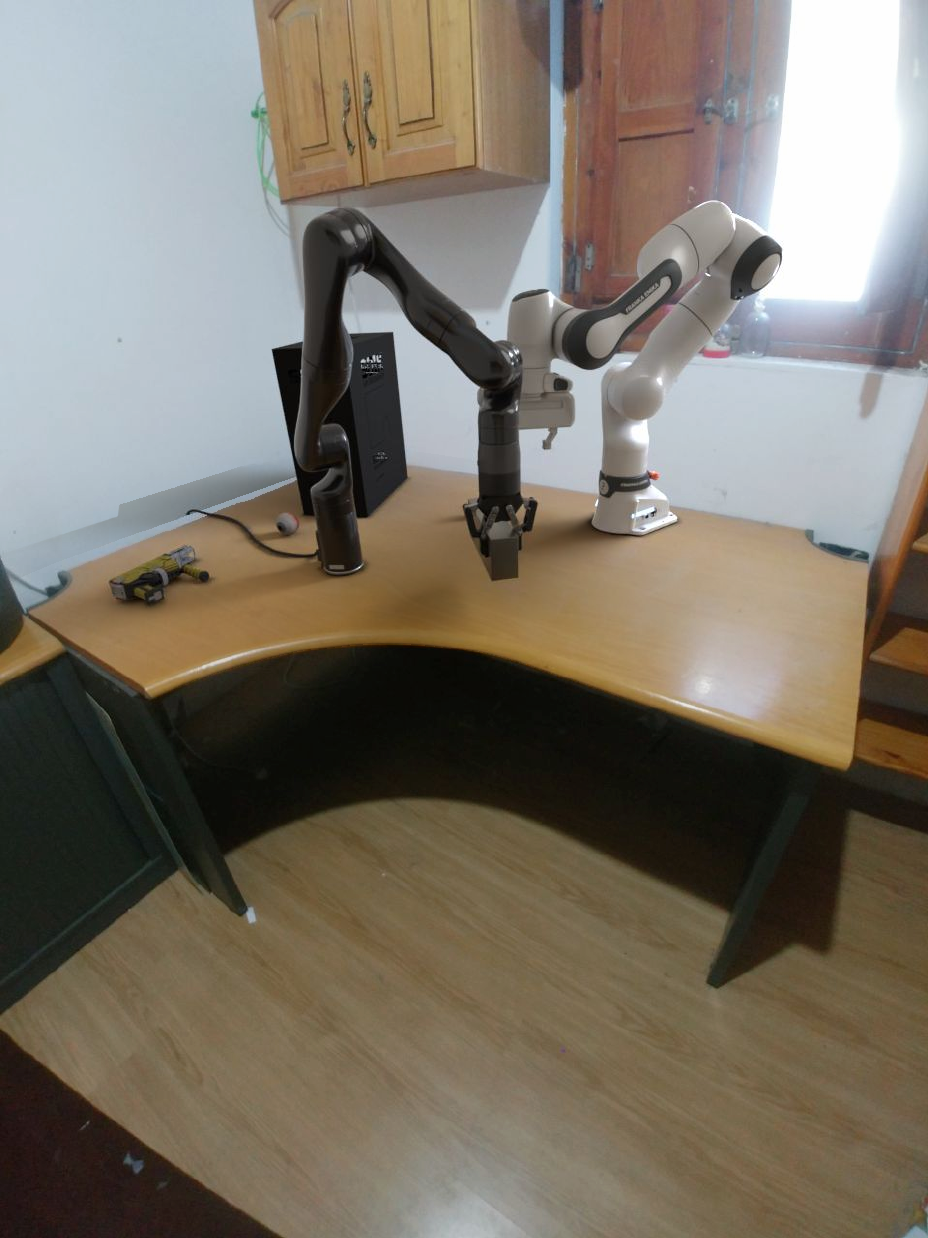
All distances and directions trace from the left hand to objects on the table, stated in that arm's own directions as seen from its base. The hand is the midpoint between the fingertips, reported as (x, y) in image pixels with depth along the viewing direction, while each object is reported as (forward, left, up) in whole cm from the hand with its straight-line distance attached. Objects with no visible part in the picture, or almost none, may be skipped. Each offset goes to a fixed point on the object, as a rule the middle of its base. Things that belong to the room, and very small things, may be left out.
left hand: (501, 553), depth 115 cm
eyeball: (-74, +8, -13) cm, 75 cm away
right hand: (-8, +23, +13) cm, 28 cm away
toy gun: (-74, -26, -13) cm, 80 cm away
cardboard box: (-80, +42, -13) cm, 91 cm away
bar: (-6, +6, -4) cm, 9 cm away
